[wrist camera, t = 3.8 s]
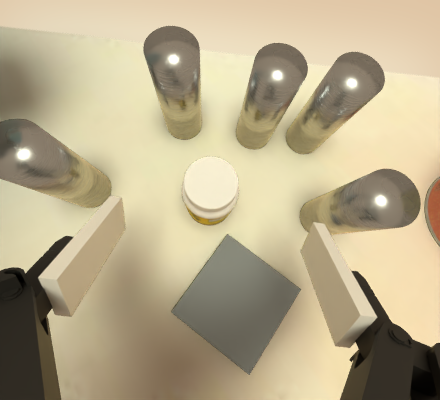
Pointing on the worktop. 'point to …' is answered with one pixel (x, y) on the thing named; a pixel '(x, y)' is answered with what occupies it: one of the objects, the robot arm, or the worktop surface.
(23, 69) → the worktop surface
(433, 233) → the canned food
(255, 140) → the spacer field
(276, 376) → the worktop surface
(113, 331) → the worktop surface
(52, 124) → the worktop surface
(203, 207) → the supplement bottle
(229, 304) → the mat
